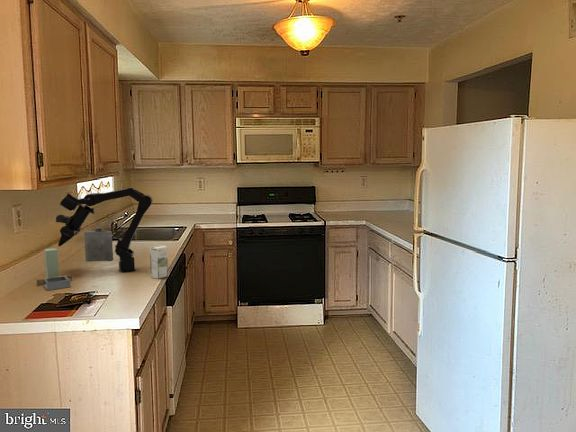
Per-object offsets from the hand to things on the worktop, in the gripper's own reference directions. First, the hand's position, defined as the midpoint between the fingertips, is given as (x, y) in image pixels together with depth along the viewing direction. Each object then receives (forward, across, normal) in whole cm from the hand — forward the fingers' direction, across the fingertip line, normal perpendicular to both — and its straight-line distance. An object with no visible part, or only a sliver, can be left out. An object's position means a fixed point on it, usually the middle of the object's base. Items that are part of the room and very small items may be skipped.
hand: (61, 244), depth 227 cm
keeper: (+11, +23, +10) cm, 27 cm away
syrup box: (-14, +18, +45) cm, 51 cm away
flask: (+4, -27, +19) cm, 33 cm away
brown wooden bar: (+12, +17, +8) cm, 22 cm away
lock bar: (+13, +11, +7) cm, 18 cm away
